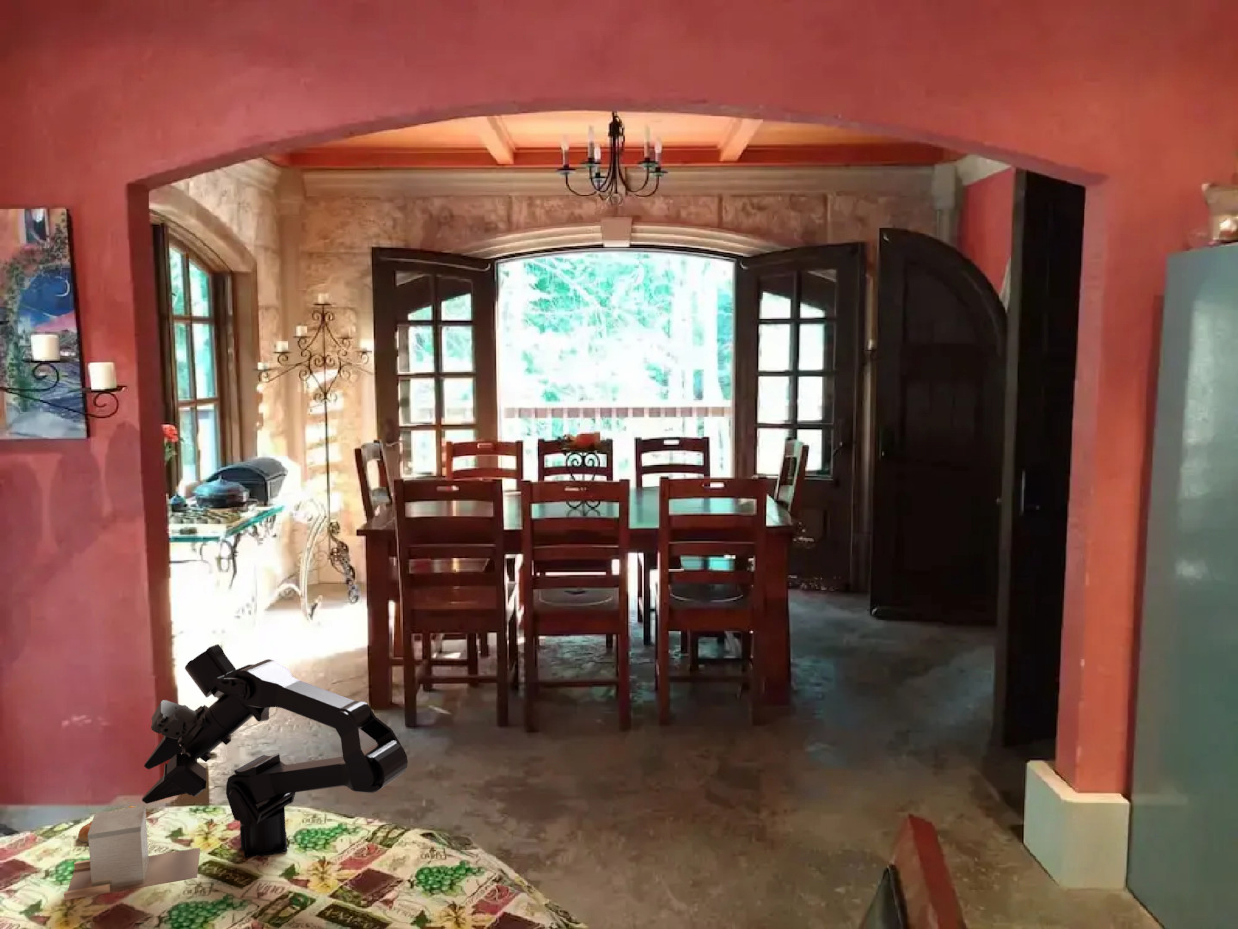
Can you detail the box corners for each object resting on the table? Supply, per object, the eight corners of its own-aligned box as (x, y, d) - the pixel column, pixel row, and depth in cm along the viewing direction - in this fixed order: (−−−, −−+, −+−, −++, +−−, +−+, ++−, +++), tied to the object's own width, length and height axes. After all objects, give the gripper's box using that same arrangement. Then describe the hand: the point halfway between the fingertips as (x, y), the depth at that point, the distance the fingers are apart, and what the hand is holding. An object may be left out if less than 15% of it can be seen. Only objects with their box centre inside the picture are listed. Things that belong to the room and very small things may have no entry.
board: (200, 850, 159) (199, 841, 159) (197, 879, 151) (196, 871, 150) (75, 870, 153) (74, 862, 153) (64, 902, 144) (63, 894, 144)
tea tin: (149, 859, 156) (145, 805, 155) (144, 882, 149) (140, 826, 148) (98, 867, 153) (95, 813, 152) (91, 891, 147) (87, 834, 145)
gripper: (185, 660, 163) (109, 724, 161) (185, 721, 147) (101, 792, 145) (233, 699, 168) (160, 761, 167) (239, 762, 152) (158, 831, 151)
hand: (145, 784), depth 157 cm, fingers open, 9 cm apart
